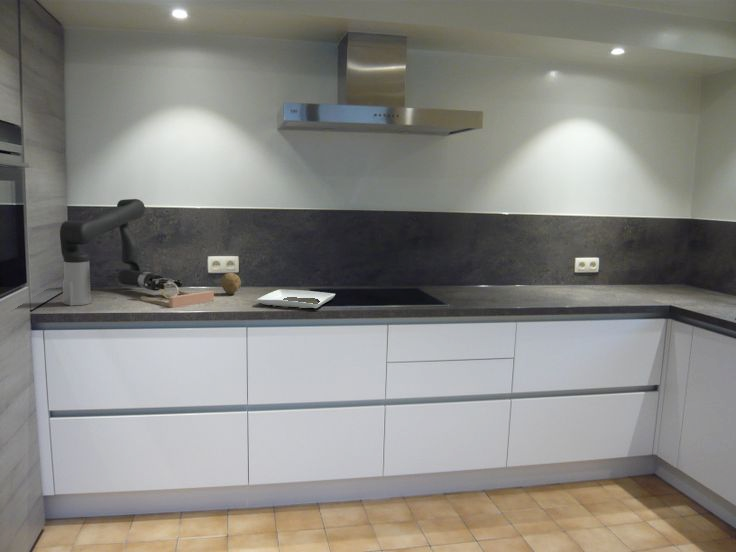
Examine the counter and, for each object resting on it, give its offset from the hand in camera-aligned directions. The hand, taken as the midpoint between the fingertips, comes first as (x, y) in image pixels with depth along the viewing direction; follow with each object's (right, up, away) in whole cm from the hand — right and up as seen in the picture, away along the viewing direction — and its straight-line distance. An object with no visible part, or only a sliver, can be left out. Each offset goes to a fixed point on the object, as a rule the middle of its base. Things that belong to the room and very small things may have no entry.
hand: (172, 285), depth 255 cm
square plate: (+53, -8, +2) cm, 54 cm away
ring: (-2, -6, +2) cm, 6 cm away
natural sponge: (+21, -4, +17) cm, 28 cm away
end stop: (+10, -7, -7) cm, 14 cm away
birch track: (+1, -6, 0) cm, 6 cm away
